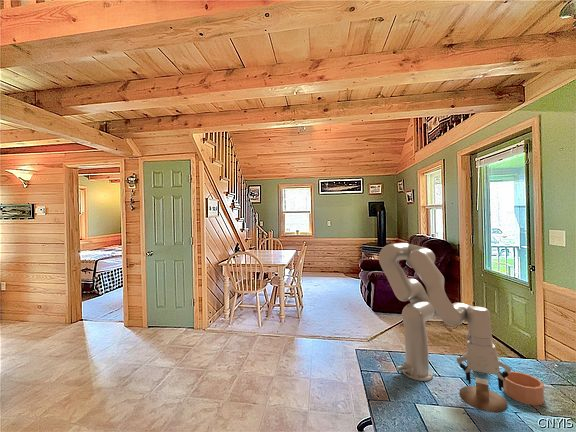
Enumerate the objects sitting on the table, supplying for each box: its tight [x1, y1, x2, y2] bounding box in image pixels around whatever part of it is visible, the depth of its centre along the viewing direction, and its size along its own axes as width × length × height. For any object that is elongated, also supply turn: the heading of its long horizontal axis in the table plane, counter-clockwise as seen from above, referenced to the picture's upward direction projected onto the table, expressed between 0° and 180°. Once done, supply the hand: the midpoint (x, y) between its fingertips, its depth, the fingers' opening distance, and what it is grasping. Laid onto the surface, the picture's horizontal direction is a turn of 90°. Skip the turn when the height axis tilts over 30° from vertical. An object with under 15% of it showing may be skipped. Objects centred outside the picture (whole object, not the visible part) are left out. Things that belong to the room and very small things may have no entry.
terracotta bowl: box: [502, 370, 545, 406], centre depth 109 cm, size 12×12×6 cm
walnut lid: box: [459, 377, 508, 413], centre depth 108 cm, size 15×15×7 cm
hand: (484, 385), depth 107 cm, fingers open, 9 cm apart
